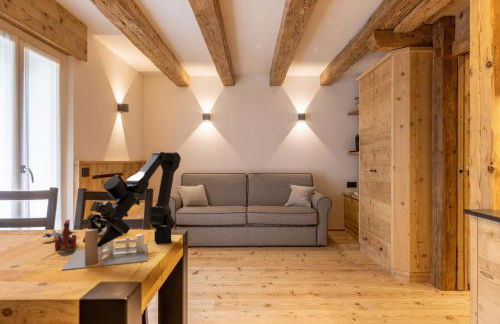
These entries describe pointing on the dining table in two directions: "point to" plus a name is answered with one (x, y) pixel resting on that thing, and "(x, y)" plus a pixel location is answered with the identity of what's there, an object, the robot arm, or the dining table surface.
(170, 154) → the robot arm
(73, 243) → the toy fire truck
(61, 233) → the toy airplane
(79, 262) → the card
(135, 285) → the dining table surface
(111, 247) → the fence fixed
